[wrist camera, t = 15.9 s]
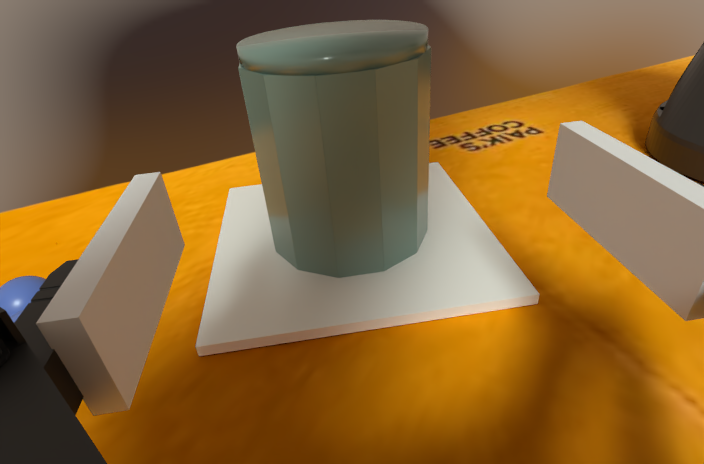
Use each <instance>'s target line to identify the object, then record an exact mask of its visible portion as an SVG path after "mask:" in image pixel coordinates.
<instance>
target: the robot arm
mask: <svg viewBox="0 0 704 464" xmlns="http://www.w3.org/2000/svg"><path fill="white" fill-rule="evenodd" d="M646 147H647V150H648V151H649V152H650V154H651V155H652V156H653V157H655V158H656V159H657V160H658V161H660V162H661V163H663V164H664V165H666V166H668V167H670V168H671V169H670V168H668V167H666V166H664V165H662V164H661V163H659V162H657V161H655V160H653V159H651V158H650V157H648V156H646V155H644V154H642V153H640V152H639V151H637V150H635V149H633V148H631V147H629V146H628V145H626V144H624V143H622V142H620V141H618V140H617V139H615V138H613V137H611V136H609V135H607V134H606V133H604V132H602V131H600V130H598V129H596V128H594V127H593V126H591V125H589V124H587V123H585V122H583V121H575V122H567V123H560V128H559V133H558V139H557V144H556V150H555V155H554V160H553V166H552V171H551V177H550V182H549V188H548V193H547V197H548V198H550V199H551V200H552V201H553V202H554V203H555V204H556V205H557V206H558V207H560V208H561V209H562V210H563V211H564V212H565V213H566V214H567V215H568V216H570V217H571V218H572V219H573V220H574V221H575V222H576V223H577V224H578V225H580V226H581V227H582V228H583V229H584V230H585V231H586V232H587V233H588V234H590V235H591V236H592V237H593V238H594V239H595V240H596V241H597V242H598V243H600V244H601V245H602V246H603V247H604V248H605V249H606V250H607V251H608V252H610V253H611V254H612V255H613V256H614V257H615V258H616V259H617V260H618V261H619V262H621V263H622V264H623V265H624V266H625V267H626V268H627V269H628V270H629V271H631V272H632V273H633V274H634V275H635V276H636V277H637V278H638V279H639V280H641V281H642V282H643V283H644V284H645V285H646V286H647V287H648V288H649V289H651V290H652V291H653V292H654V293H655V294H656V295H657V296H658V297H659V298H661V299H662V300H663V301H664V302H665V303H666V304H667V305H668V306H669V307H671V308H672V309H673V310H674V311H675V312H676V313H677V314H678V315H679V316H681V317H682V318H683V319H684V320H685V321H688V320H695V319H701V318H704V185H702V184H700V183H696V182H694V181H692V180H690V179H688V178H686V177H684V176H683V175H681V174H679V173H677V172H680V173H682V174H684V175H687V176H689V177H691V178H694V179H697V180H700V181H703V182H704V43H703V44H702V46H701V48H700V49H699V50H698V52H697V53H696V55H695V56H694V58H693V59H692V61H691V62H690V64H689V65H688V67H687V68H686V70H685V71H684V73H683V75H682V76H681V78H680V79H679V81H678V83H677V84H676V86H675V88H674V90H673V92H672V93H671V95H670V98H669V100H667V101H665V102H664V103H662V104H661V105H660V106H659V108H658V109H657V110H656V112H655V114H654V116H653V118H652V121H651V125H650V128H649V131H648V135H647V138H646ZM672 169H673V170H675V171H677V172H675V171H673V170H672ZM184 245H185V244H184V241H183V238H182V235H181V232H180V229H179V226H178V223H177V220H176V217H175V214H174V211H173V208H172V205H171V202H170V199H169V196H168V193H167V190H166V187H165V184H164V181H163V178H162V175H161V172H156V173H149V174H140V175H135V176H134V178H133V179H132V181H131V182H130V184H129V185H128V187H127V188H126V190H125V191H124V193H123V194H122V196H121V197H120V199H119V200H118V202H117V203H116V205H115V206H114V208H113V209H112V211H111V212H110V214H109V215H108V217H107V218H106V220H105V221H104V222H103V224H102V225H101V227H100V228H99V230H98V231H97V233H96V234H95V236H94V237H93V239H92V240H91V242H90V243H89V245H88V246H87V248H86V249H85V251H84V252H83V254H82V255H81V257H80V258H79V259H78V260H71V261H66V262H65V263H64V264H62V265H61V266H60V267H59V268H57V269H56V270H55V271H53V272H52V273H51V274H50V275H49V276H48V277H47V279H46V280H45V281H44V283H43V284H42V285H41V287H40V288H39V289H40V291H37V292H36V294H35V295H34V296H33V298H32V299H31V303H28V305H27V306H26V307H25V309H24V310H23V311H22V313H21V314H20V316H19V317H18V318H17V320H16V321H15V322H13V321H12V319H11V318H10V316H9V315H8V313H7V312H6V310H4V309H3V308H1V307H0V464H107V463H106V461H105V460H104V458H103V457H102V455H101V454H100V452H99V451H98V449H97V448H96V446H95V445H94V443H93V442H92V440H91V439H90V437H89V436H88V434H87V433H86V431H85V430H84V428H83V427H82V425H81V424H80V422H79V421H78V419H77V417H76V416H75V415H76V412H77V410H78V408H79V406H80V404H81V401H82V399H83V400H84V402H85V403H86V405H87V406H88V408H89V410H90V411H91V413H92V414H93V416H95V415H101V414H107V413H113V412H120V411H126V410H129V409H130V406H131V403H132V400H133V397H134V394H135V391H136V388H137V385H138V382H139V379H140V376H141V373H142V370H143V368H144V365H145V362H146V359H147V356H148V353H149V350H150V347H151V344H152V341H153V338H154V335H155V332H156V329H157V326H158V323H159V320H160V317H161V314H162V311H163V308H164V305H165V302H166V299H167V296H168V293H169V290H170V287H171V284H172V281H173V278H174V275H175V272H176V269H177V266H178V263H179V260H180V257H181V254H182V251H183V248H184Z"/></svg>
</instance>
